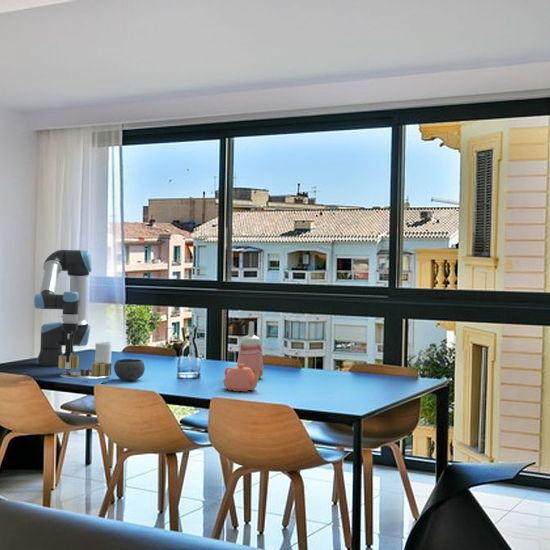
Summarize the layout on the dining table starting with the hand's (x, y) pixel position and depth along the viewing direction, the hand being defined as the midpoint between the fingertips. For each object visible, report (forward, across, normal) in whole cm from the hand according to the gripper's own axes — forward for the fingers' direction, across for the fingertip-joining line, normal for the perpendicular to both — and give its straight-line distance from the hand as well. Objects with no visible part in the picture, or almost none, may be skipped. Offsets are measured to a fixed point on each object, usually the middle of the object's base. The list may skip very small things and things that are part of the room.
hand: (68, 367), depth 392 cm
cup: (+5, -17, +16) cm, 24 cm away
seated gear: (+4, 0, +16) cm, 16 cm away
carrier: (+5, 0, +8) cm, 10 cm away
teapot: (+6, +34, +83) cm, 90 cm away
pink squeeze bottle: (+5, -5, +92) cm, 92 cm away
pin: (+4, 0, 0) cm, 4 cm away
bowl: (+6, +6, +30) cm, 31 cm away
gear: (0, 0, 0) cm, 0 cm away
